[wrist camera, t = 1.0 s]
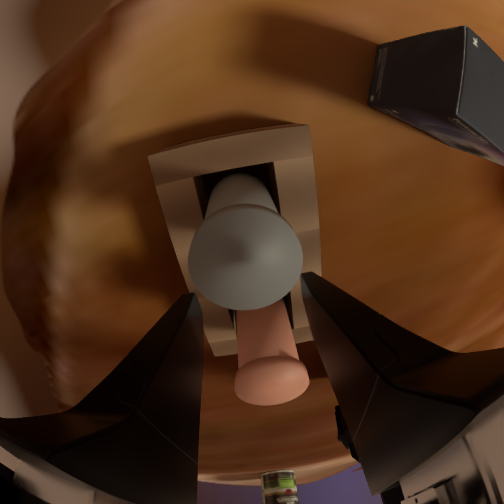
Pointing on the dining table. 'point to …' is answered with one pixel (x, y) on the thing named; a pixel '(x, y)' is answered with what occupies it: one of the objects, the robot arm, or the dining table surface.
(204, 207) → the socket block
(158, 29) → the dining table surface
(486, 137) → the small box
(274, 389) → the brick plug
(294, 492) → the coffee can
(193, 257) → the grey plug
